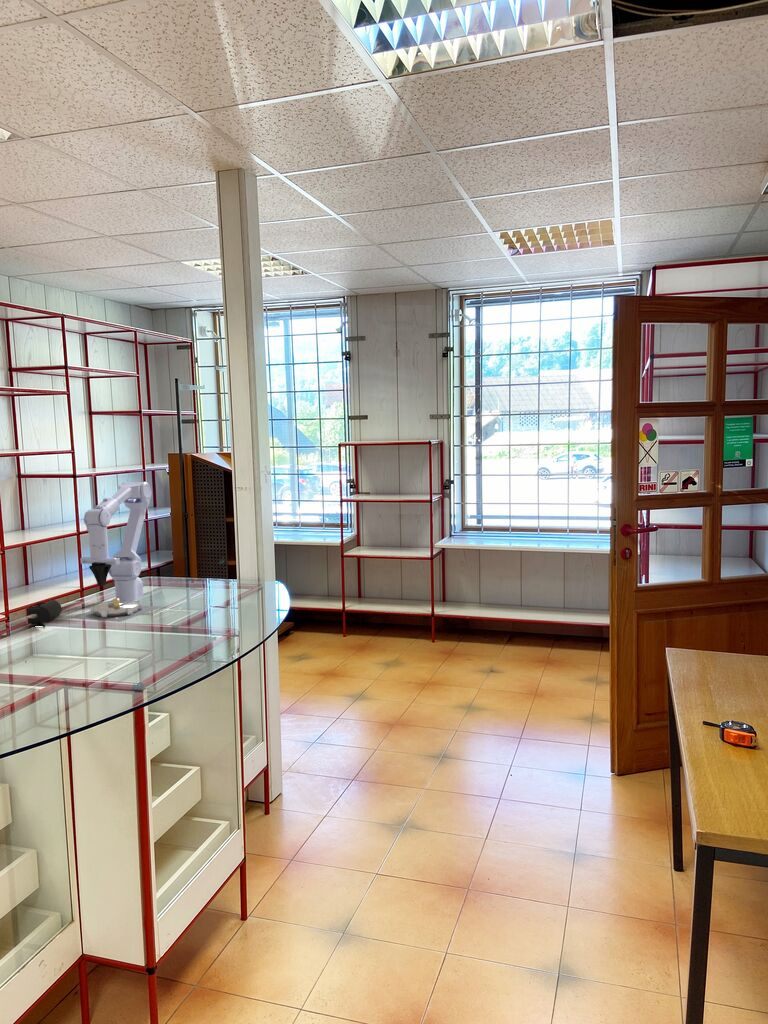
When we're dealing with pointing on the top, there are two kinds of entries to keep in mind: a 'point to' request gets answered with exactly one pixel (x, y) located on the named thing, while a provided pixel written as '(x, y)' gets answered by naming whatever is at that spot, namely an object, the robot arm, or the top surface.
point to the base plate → (115, 618)
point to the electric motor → (43, 612)
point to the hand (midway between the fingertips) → (101, 585)
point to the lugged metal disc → (116, 608)
